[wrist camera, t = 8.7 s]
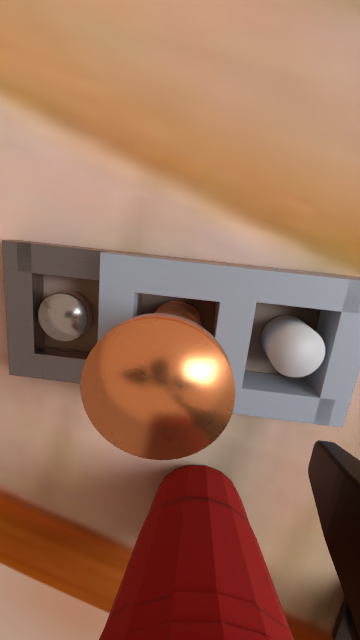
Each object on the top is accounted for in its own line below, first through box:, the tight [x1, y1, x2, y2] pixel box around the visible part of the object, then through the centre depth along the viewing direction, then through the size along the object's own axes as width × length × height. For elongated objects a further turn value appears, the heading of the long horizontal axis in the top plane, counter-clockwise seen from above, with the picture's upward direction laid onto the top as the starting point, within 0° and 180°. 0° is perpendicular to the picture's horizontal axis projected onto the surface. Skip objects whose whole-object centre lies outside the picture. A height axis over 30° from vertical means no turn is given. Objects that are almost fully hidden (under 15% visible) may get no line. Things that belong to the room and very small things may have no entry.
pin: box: [80, 300, 235, 460], centre depth 14 cm, size 5×5×8 cm
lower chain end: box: [2, 240, 257, 384], centre depth 18 cm, size 8×14×1 cm, turn 84°
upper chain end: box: [98, 252, 360, 428], centre depth 17 cm, size 8×14×2 cm, turn 84°
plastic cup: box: [99, 465, 294, 640], centre depth 16 cm, size 11×11×12 cm
